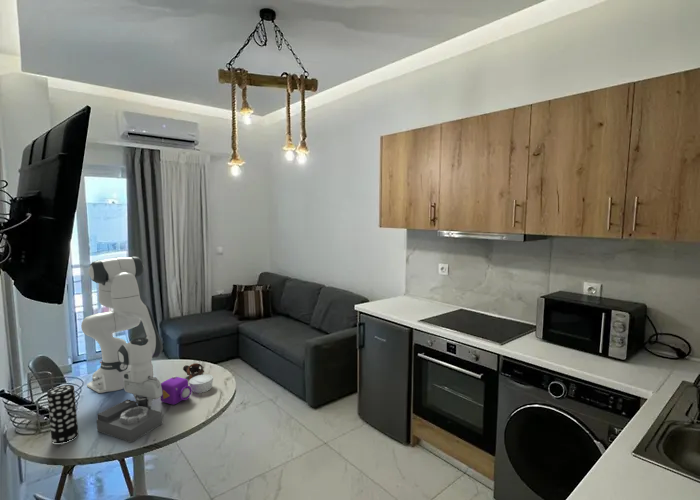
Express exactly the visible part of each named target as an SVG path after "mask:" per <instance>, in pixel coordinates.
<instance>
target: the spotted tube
mask: <svg viewBox="0 0 700 500" xmlns="http://www.w3.org/2000/svg"><path fill="white" fill-rule="evenodd" d="M75 393H76V392H75V386H74V385H72V384H64V385H61V386H56V387H54V388H51V389H50V390H48V391H47V392H46V397H47V406H48V415H49V418H48V419H49V425H50V437H51V443H52V442H54V443H63V442H67V441H69V440H72V439H74V438H75V437H76V436H77V435H78V436H79V429H78V428H79V425H78V416H77V406H76V405H77V404H76V394H75ZM75 439H76V438H75ZM75 439H74V440H75ZM72 441H73V440H72Z"/></svg>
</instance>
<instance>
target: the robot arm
mask: <svg viewBox="0 0 700 500" xmlns="http://www.w3.org/2000/svg"><path fill="white" fill-rule="evenodd" d="M144 268H145V267H144V263H143V260H142V259H141V258H140V257H139V256H122V257H121V256H119V257H114V258H106V259H105V258H104V259H97V260H94V261H92V262H91V263H90V264H89V268H88V275H89V277H90V279H91V281H93V282H94V283H96V284H98V302H99V303H100V305H102V306H103V307H105V308H108V309H112V310H111V311H105V312H98V313H94V314H91V315H88V316H85V317H84V319H83V320H82V321H81V324H80V325H81V326H80V327H81V331H82V332H83V334H84V335H85V336H87V337H90V338H92V339H93V340H95V341H96V342H97V343H98V345H99V348H100V351H101V352H100V353H101V359H102V360H99V364H100V367H98V369H97V370H95V371H94V373H93V374H92V377H91V379H92V380H91V381H89V382H88V383H87V384H86V386H87V387H88V388H89V389H91V390H93V391H95V392H96V393H99V394H103V393H107V392H115V391H116V392H117V391H120V390H124V392H125V393H129V394H133V397H134V399H135V402H137V395H139V396H143V397H147V399H148V402H146V406H151V407H152V405H153V400H157V399H159V398H160V397H161V396H162V387H161V383H162V382H161V381H160V380H159V379H158V377H154V366H153V363H152V360H153V359H154V358H155V359H156V358H159V356H160V355H161V354H162V352H163V349H164V345H163V342H162V339H161V338H160V336H159V333H158V329H157V326H156V323H155V320H154V317H153V313H152V311H151V308H150V306H149V305H148V304H145V303H144V302H143V301H142V299H141V295H140V289H139V285H138V280H137V278H140V277H141V276H142V275H144ZM141 322H142V325H143V328H144V332H145V334H146V337H136V338H133V339H131V340H130V341H129V342H127V341H126V340H125V339H123V338H119V337H114V336H113V334H115V333H118V332H122V331H128V330H129V331H130V330H131V329H133V328H135V327H138V326H139V325H140V324H141ZM160 399H161V398H160ZM137 404H138V402H137Z"/></svg>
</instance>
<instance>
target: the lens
mask: <svg viewBox="0 0 700 500" xmlns="http://www.w3.org/2000/svg"><path fill="white" fill-rule="evenodd" d="M137 402H138V403H137V406H143V407H147V408H148V409H152V405H151V406H146V402H148V399H147V397H143V396H139V395H137Z"/></svg>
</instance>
